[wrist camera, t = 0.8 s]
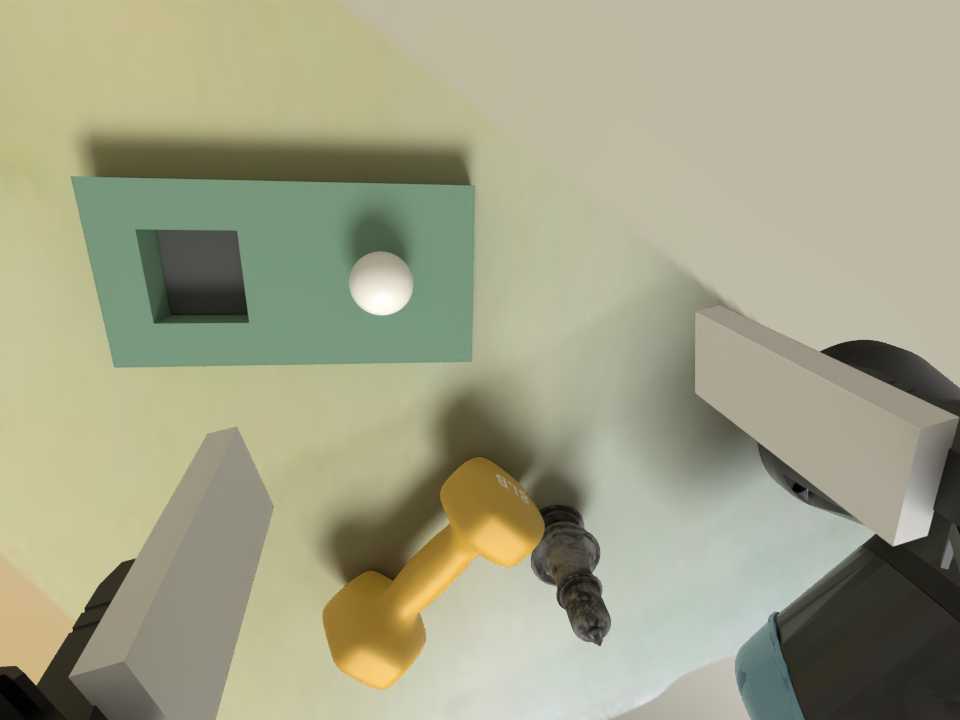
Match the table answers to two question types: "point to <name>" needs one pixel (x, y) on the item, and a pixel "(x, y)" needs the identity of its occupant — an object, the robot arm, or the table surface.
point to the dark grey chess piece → (572, 571)
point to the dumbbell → (430, 573)
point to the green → (275, 270)
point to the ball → (381, 283)
